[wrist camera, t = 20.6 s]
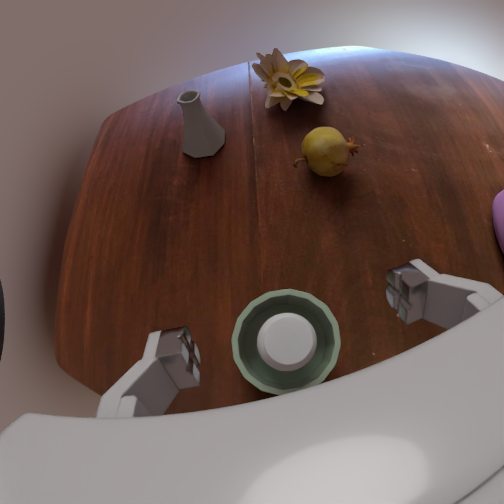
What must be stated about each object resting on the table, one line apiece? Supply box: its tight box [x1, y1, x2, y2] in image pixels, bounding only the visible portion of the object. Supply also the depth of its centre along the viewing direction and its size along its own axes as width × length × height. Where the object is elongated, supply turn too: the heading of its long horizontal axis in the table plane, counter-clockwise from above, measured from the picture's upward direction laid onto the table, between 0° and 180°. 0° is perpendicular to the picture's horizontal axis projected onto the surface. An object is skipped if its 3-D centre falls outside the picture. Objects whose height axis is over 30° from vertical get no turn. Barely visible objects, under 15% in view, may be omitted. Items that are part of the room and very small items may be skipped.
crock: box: [231, 289, 341, 395], centre depth 28 cm, size 10×10×6 cm
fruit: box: [293, 127, 360, 177], centre depth 35 cm, size 7×7×10 cm
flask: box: [177, 90, 225, 158], centre depth 37 cm, size 7×7×10 cm
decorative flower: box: [252, 48, 325, 111], centre depth 40 cm, size 15×11×10 cm
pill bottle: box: [257, 313, 317, 371], centre depth 25 cm, size 5×5×10 cm
